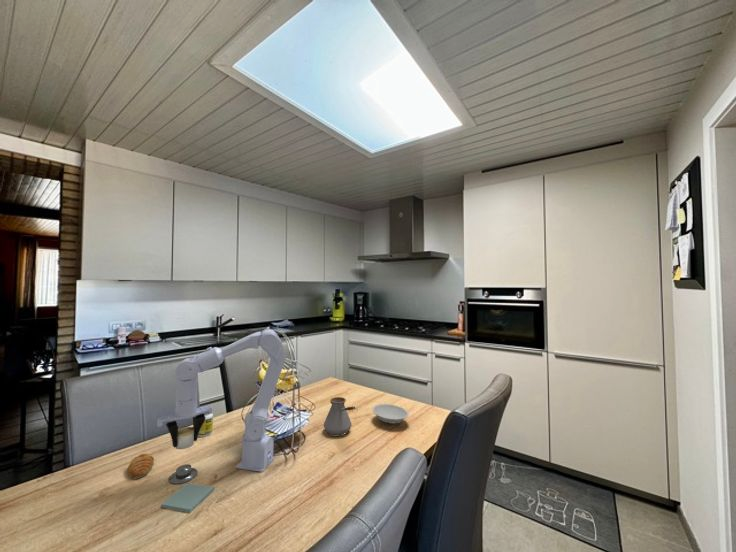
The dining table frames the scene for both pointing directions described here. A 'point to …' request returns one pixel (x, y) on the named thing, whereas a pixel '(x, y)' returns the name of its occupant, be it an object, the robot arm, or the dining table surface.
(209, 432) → the supplement bottle
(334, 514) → the dining table surface
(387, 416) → the dish
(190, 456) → the dining table surface
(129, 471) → the pastry
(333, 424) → the coffee pot
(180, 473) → the grey round lid
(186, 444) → the can
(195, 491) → the coaster
